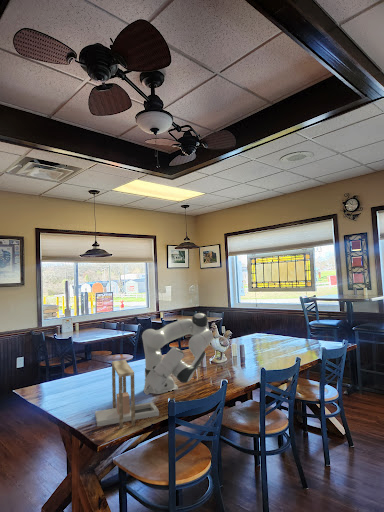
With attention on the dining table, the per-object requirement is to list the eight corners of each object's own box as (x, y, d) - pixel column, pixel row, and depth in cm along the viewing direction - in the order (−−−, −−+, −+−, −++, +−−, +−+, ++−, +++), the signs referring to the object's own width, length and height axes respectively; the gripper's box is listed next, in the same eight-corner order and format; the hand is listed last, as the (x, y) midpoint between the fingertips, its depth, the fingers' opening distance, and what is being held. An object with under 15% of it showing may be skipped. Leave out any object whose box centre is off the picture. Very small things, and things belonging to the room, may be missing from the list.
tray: (152, 406, 198) (152, 402, 198) (159, 415, 184) (159, 410, 185) (95, 416, 186) (95, 411, 187) (97, 426, 173) (97, 421, 173)
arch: (126, 406, 199) (125, 359, 201) (135, 425, 173) (134, 372, 174) (112, 408, 196) (111, 361, 198) (120, 428, 170) (119, 374, 172)
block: (127, 408, 189) (127, 392, 189) (129, 412, 183) (129, 395, 184) (116, 410, 187) (116, 393, 187) (118, 414, 181) (118, 397, 181)
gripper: (171, 381, 183) (155, 403, 178) (160, 371, 202) (144, 391, 197) (163, 373, 181) (146, 396, 177) (152, 365, 200) (136, 385, 196)
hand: (145, 393), depth 187 cm, fingers closed
